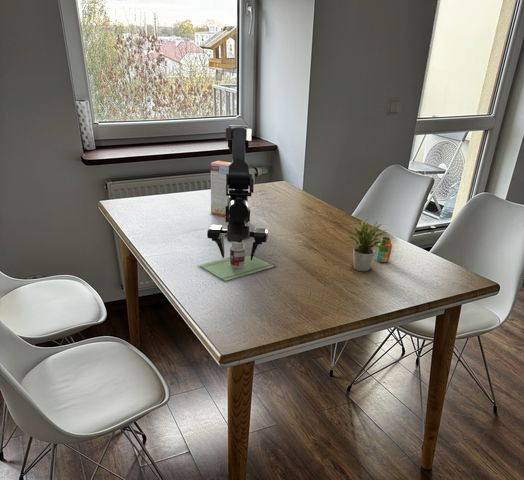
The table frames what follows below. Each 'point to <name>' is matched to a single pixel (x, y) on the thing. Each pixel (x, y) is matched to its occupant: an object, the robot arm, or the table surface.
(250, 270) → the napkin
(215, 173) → the cracker box
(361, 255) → the house plant
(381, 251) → the colorful patterned jar
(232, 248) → the pill bottle
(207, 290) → the table surface
